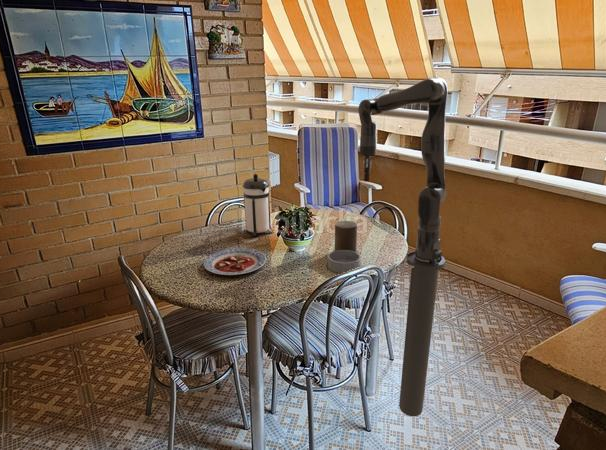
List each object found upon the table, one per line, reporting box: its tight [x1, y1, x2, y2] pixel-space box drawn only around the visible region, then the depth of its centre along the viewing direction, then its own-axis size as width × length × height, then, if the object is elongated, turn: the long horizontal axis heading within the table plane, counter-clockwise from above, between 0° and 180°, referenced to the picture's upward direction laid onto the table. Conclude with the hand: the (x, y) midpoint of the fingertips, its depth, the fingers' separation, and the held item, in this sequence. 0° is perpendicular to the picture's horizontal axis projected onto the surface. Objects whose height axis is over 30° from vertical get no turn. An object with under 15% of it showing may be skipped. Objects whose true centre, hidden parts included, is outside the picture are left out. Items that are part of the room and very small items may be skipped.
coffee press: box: [242, 173, 274, 238], centre depth 203 cm, size 17×16×30 cm
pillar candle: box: [334, 220, 358, 253], centre depth 179 cm, size 10×10×15 cm
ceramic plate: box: [203, 247, 267, 276], centre depth 170 cm, size 26×26×3 cm
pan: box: [327, 250, 362, 274], centre depth 168 cm, size 13×13×4 cm
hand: (366, 180), depth 194 cm, fingers closed
